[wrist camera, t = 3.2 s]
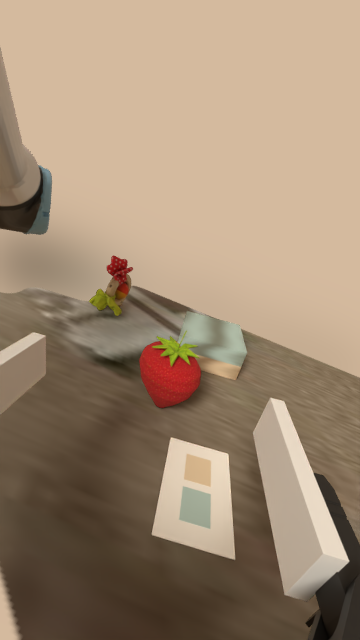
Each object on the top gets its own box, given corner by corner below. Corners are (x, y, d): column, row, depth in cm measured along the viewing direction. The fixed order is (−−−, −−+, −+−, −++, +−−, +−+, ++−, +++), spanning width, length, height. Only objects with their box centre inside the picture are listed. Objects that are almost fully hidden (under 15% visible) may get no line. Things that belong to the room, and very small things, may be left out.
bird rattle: (103, 310, 51) (81, 305, 42) (119, 262, 51) (100, 248, 42) (129, 318, 50) (111, 316, 41) (145, 270, 50) (131, 257, 41)
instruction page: (151, 534, 16) (151, 533, 16) (170, 438, 23) (170, 437, 23) (234, 560, 16) (235, 559, 16) (228, 454, 23) (228, 453, 23)
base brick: (172, 362, 35) (179, 334, 33) (180, 334, 45) (186, 310, 43) (235, 380, 35) (247, 353, 33) (231, 348, 44) (239, 325, 42)
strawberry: (159, 377, 31) (175, 311, 27) (199, 415, 27) (225, 343, 23) (121, 393, 27) (133, 318, 23) (161, 441, 23) (185, 358, 19)
